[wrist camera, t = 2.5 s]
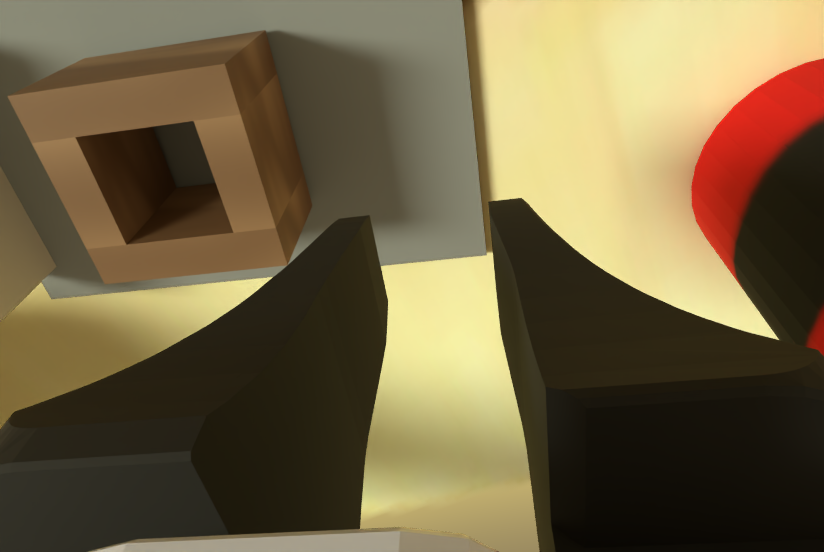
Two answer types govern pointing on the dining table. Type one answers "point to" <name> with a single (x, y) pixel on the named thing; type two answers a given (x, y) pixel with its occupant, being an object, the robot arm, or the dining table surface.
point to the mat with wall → (308, 113)
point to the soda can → (771, 200)
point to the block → (146, 166)
